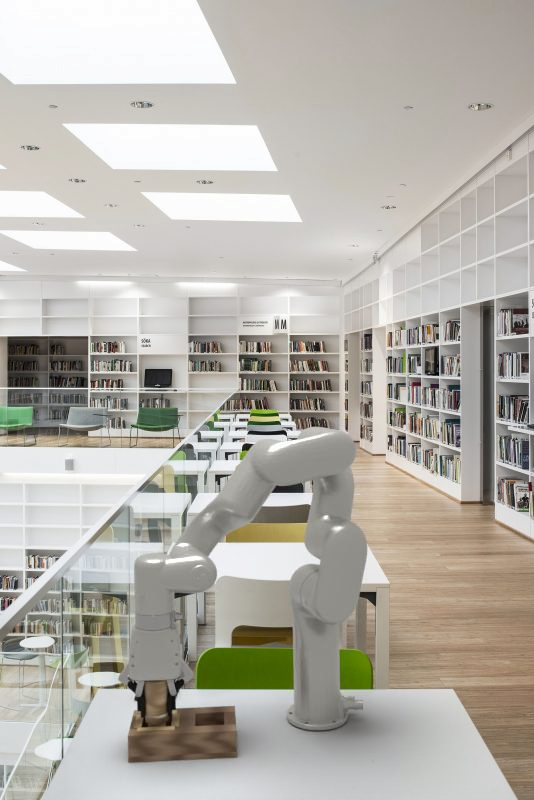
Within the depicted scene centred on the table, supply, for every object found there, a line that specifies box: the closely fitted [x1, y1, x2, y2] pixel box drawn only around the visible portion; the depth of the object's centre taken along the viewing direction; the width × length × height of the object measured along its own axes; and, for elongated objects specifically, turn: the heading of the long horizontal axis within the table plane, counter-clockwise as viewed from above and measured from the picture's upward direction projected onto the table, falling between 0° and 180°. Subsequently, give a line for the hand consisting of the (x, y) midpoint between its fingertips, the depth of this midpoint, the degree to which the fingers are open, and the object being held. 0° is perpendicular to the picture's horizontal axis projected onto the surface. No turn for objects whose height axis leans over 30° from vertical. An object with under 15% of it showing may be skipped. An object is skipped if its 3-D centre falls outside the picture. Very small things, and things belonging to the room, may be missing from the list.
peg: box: [145, 680, 168, 727], centre depth 150 cm, size 4×4×11 cm
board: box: [127, 705, 238, 763], centre depth 151 cm, size 20×11×5 cm, turn 94°
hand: (156, 712), depth 150 cm, fingers closed on peg, 4 cm apart
